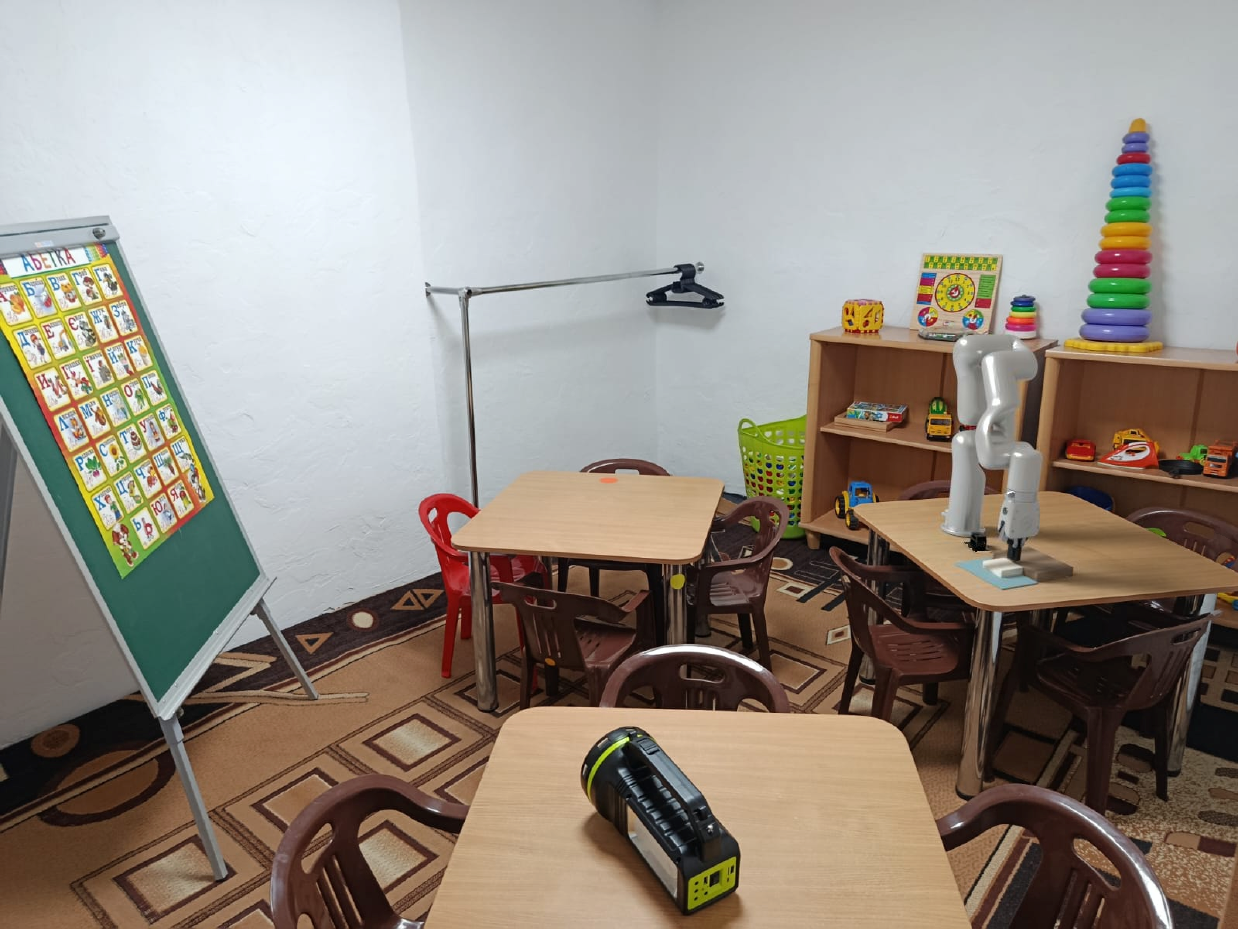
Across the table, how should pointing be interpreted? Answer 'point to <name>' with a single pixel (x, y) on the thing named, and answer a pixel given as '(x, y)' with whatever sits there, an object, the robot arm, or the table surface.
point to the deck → (1038, 564)
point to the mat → (993, 579)
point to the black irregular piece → (978, 542)
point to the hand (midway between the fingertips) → (1013, 559)
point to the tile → (1002, 567)
